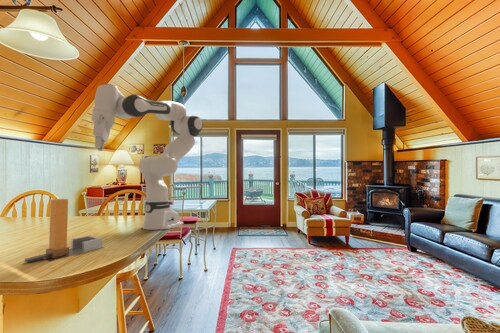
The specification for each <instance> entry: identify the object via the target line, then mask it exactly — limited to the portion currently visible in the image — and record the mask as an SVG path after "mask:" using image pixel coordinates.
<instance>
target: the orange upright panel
mask: <svg viewBox="0 0 500 333" xmlns="http://www.w3.org/2000/svg"><path fill="white" fill-rule="evenodd" d="M68 209H69V199H67V198H55V199H54V198H53V199H50V209H49V210H50V214H49V239H48V243H49V244H48V248H46V249H45V254H40V255H36V256H32V257H28V258H24V262H26V263H30V262H35V261H38V260H44V259H43V258H47V257H51V258H55V257H59V256H63V255H67V254H69V249H70V246H69V247H68V245H67V243H68V219H69V218H68V215H69V210H68Z"/></svg>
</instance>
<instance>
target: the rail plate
mask: <svg viewBox="0 0 500 333" xmlns="http://www.w3.org/2000/svg"><path fill="white" fill-rule="evenodd" d="M103 248H104V247H103V246H102V248H99V249H103ZM99 249H98V250H99ZM96 250H97V249H95V250H94V251H96ZM91 251H93V250H91ZM91 251H90V252H91ZM84 253H85V252H82V247H79V248H75V249H71V248H69V254H67V255H63V256H59V257H55V258H51V257H47V258H43V259H42V260H45V261H47V262H53V261H57V260H62V259H65V258H68V257H72V256H73V257H74V256H76V255H80V254H84ZM86 253H89V251H87V252H86Z"/></svg>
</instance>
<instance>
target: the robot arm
mask: <svg viewBox="0 0 500 333" xmlns="http://www.w3.org/2000/svg"><path fill="white" fill-rule="evenodd" d="M147 114H152V115H155V117H156V118H157V119H158V120H160V121H170V128H171V129H170V130H171V131H172V133H174V134H176V135H178V136H177V137H176V138H174V139H173V140H172V141H171V142H169V143H168V144H167V145H166V146H165V147H164V149H163V152H162V153H161V154H159V155H155V156H154V155H153V156H147V157H144V158H142V159H141V160H140V161H139V164H138V169H139V171H140V173H141V174H142V176H143V179H144V181H145V182H144V183H145V193H146V195H145V202H144V211H145V214H144V220H143V224H142V227H141V228H142V229H143V230H147V231H148V230H150V231H153V230H156V231H157V230H169V229H172V228H175V227H176V228H177V227H178V226H180V225H183V224H184V221H181V220H180V216H179V213H178V212H176V210H174V209H173V208H172V207H171V206H172V205H173V206H174V201H171V200H170V201H169V200H168V199H169V196H168V195H169V192H168V191H169V187H168V186H167V184H166V182H165V180H164V178H163V177H168V176H171V175H174V174H175V173H176V172H177V170H178V164H179V162H180V160H181V159H183V158H184V157H185V156H187V154H188V153H189V152H190V151H191V150H192V148H193V147H194V146H195V144H196V139H195V137H198V135H199V133H200V132H201V131H202V129H203V126H204V122H203V120H202V118H201V117H200V116H199V115H194V114H193V115H188V114H187V108H186V106H185V105H183V103H180V102H177V101H172V100H160V101H157V100H150V99H147V98H145V97H143V96H141V95H138V94H136V93H135V94H131V95H128V96H125V95H124V94H122V92H121V91H120V90H119V88H118V86H116V85H114V84H110V83H103V84H100V85H98V87H97V88H96V92H95V97H94V107H93V109H92V113H91V119H90V121H91V122H93V130H92V134H93V136H94V137H95V138H94V139H95V143H94V148H96V149H97V150H98V151H99V152H103V151H104V146H105V144H106V143H107V142H108V140H109V137H110V133H111V129H112V128H113V126H114V125H115V120H116V118H119V119H120V120H121V119H122V120H123V119H125V120H126V119H130V118H131V119H132V118H139V117H140V118H141V117H143V116H145V115H147Z"/></svg>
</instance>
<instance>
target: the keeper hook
mask: <svg viewBox="0 0 500 333" xmlns="http://www.w3.org/2000/svg"><path fill="white" fill-rule="evenodd" d="M70 242H71V243H70V249H75V248H79V247H82V252H84V253H88V252H91V250H92V251H96V250H99V248H100V249H103V248H102V247H103V238H102V237H98V236H94V235H86V236H80V237H75V238H72V239H71V241H70ZM95 249H96V250H95ZM87 251H88V252H87Z"/></svg>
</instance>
